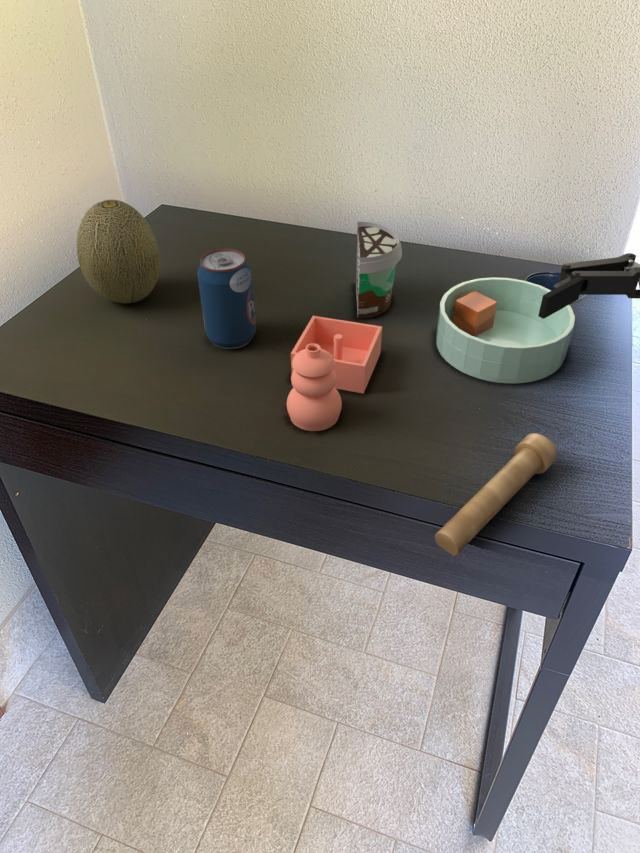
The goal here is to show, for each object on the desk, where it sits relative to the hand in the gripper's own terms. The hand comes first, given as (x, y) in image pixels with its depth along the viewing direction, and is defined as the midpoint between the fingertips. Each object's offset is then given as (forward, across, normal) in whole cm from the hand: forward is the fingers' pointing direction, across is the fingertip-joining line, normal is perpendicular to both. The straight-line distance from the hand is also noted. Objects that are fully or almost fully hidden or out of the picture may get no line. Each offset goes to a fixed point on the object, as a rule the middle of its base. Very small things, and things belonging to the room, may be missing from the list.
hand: (596, 333), depth 72 cm
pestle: (+8, -1, -11) cm, 13 cm away
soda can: (+20, +41, -13) cm, 47 cm away
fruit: (+26, +60, -13) cm, 67 cm away
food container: (-2, +35, -13) cm, 38 cm away
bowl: (-7, +16, -13) cm, 22 cm away
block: (-7, +21, -12) cm, 25 cm away
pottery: (+17, +24, -13) cm, 32 cm away
